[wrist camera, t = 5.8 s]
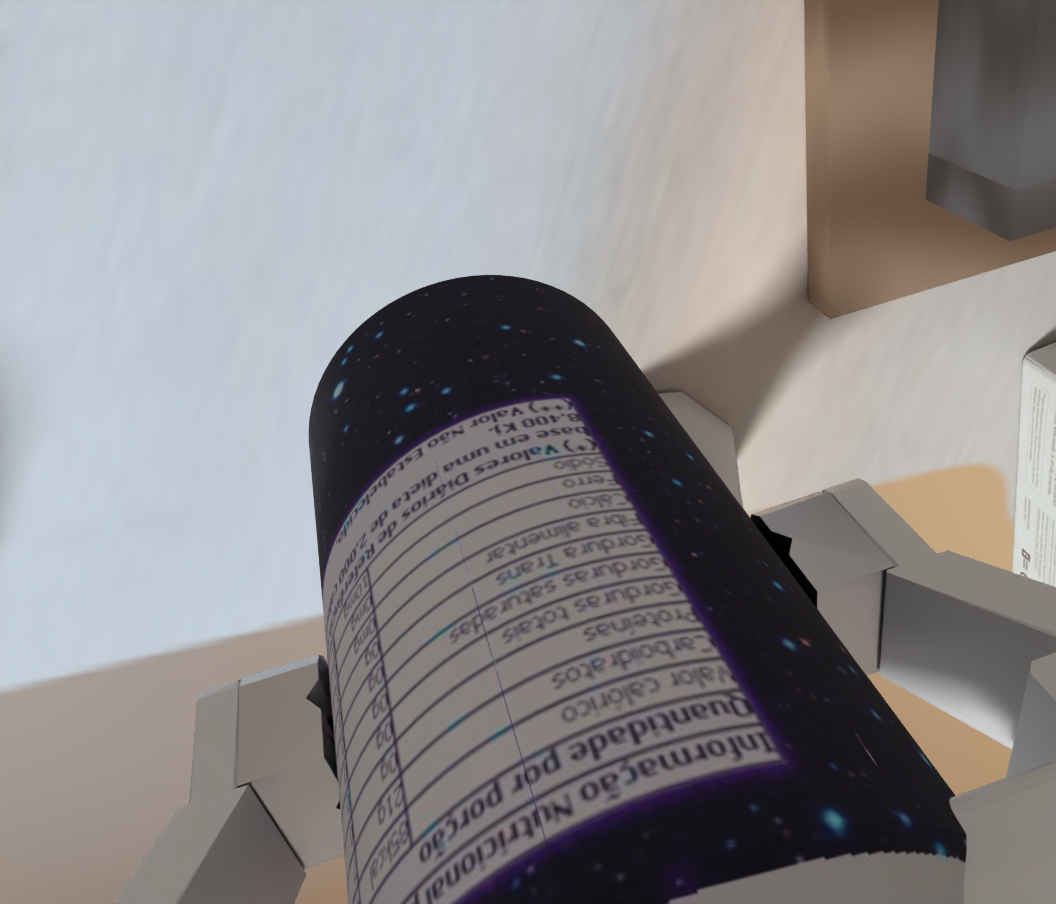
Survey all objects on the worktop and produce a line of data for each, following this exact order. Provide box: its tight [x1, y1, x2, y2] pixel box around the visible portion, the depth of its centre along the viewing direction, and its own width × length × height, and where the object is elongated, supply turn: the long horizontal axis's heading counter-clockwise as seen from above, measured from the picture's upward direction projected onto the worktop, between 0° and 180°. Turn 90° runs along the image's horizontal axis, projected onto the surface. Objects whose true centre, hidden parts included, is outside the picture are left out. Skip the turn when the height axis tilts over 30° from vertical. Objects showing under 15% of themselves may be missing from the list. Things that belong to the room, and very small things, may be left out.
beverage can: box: [309, 275, 967, 904], centre depth 11 cm, size 6×6×12 cm
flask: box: [658, 392, 743, 508], centre depth 30 cm, size 7×7×10 cm
